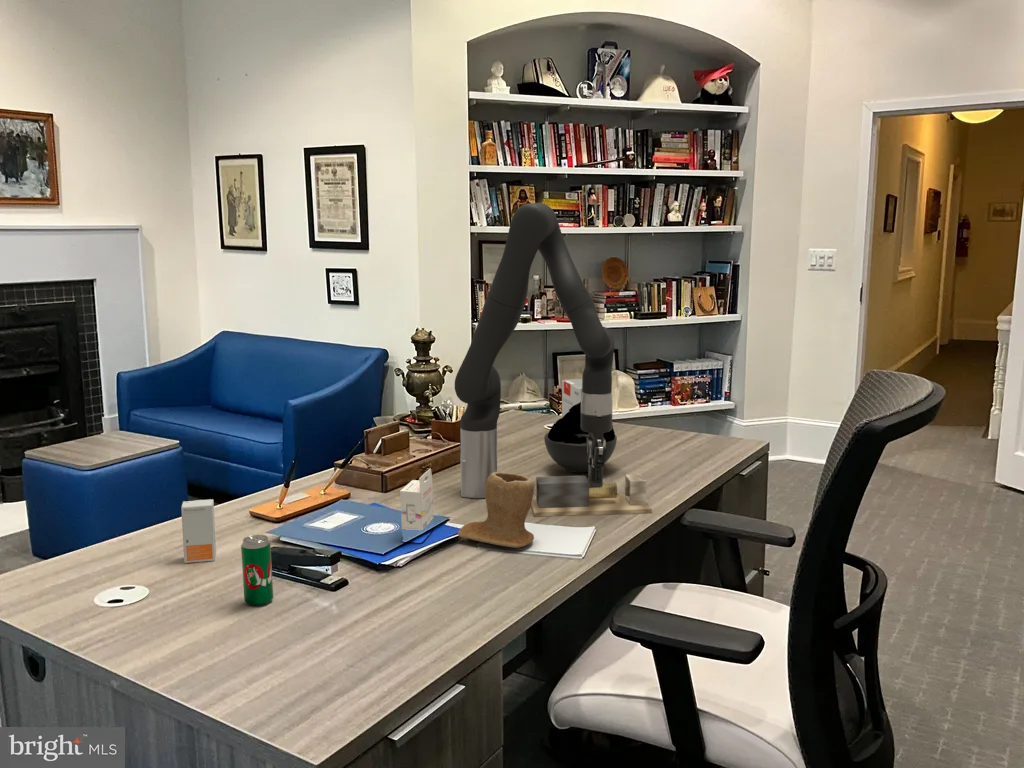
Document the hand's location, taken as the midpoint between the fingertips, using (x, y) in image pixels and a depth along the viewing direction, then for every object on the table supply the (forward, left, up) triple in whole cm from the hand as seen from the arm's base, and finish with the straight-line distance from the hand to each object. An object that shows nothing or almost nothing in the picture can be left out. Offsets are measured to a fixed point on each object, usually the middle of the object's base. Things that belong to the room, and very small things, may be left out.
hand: (595, 480), depth 208 cm
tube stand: (-2, 0, -7) cm, 7 cm away
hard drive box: (+6, +59, -7) cm, 60 cm away
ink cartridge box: (-43, -17, -7) cm, 46 cm away
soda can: (-71, -48, -7) cm, 86 cm away
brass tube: (-3, 0, -5) cm, 6 cm away
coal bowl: (+1, +31, -7) cm, 32 cm away
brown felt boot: (-25, -21, -7) cm, 33 cm away
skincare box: (-87, -26, -7) cm, 91 cm away
